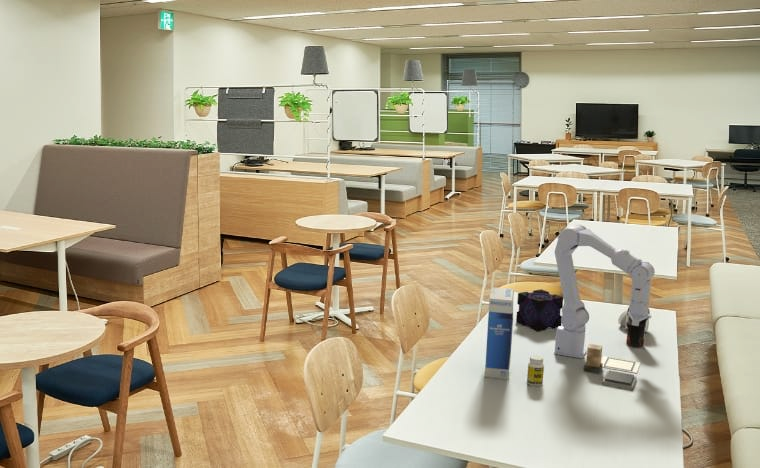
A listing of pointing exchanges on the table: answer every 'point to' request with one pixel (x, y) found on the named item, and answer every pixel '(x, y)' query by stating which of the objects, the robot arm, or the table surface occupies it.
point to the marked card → (620, 364)
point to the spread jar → (624, 318)
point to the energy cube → (539, 310)
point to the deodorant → (641, 340)
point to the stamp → (593, 359)
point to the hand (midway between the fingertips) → (635, 340)
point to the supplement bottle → (535, 371)
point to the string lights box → (499, 333)
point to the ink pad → (619, 380)
